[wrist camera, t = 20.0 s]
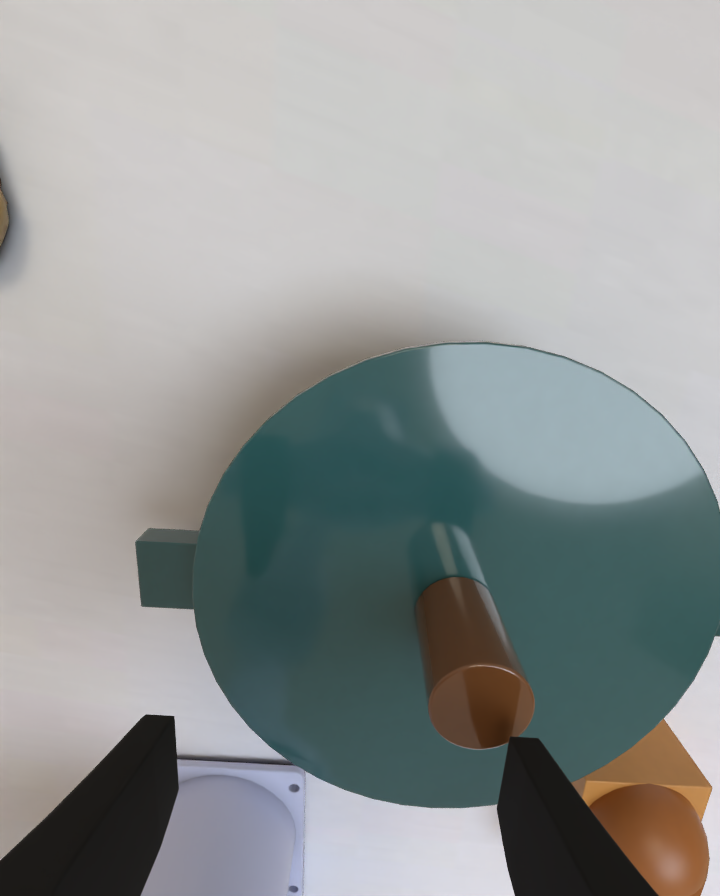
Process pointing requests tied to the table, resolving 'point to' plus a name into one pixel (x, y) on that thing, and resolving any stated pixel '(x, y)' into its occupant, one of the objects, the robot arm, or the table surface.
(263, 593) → the lid
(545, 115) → the table surface
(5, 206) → the pastry
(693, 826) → the bread
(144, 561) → the pot
